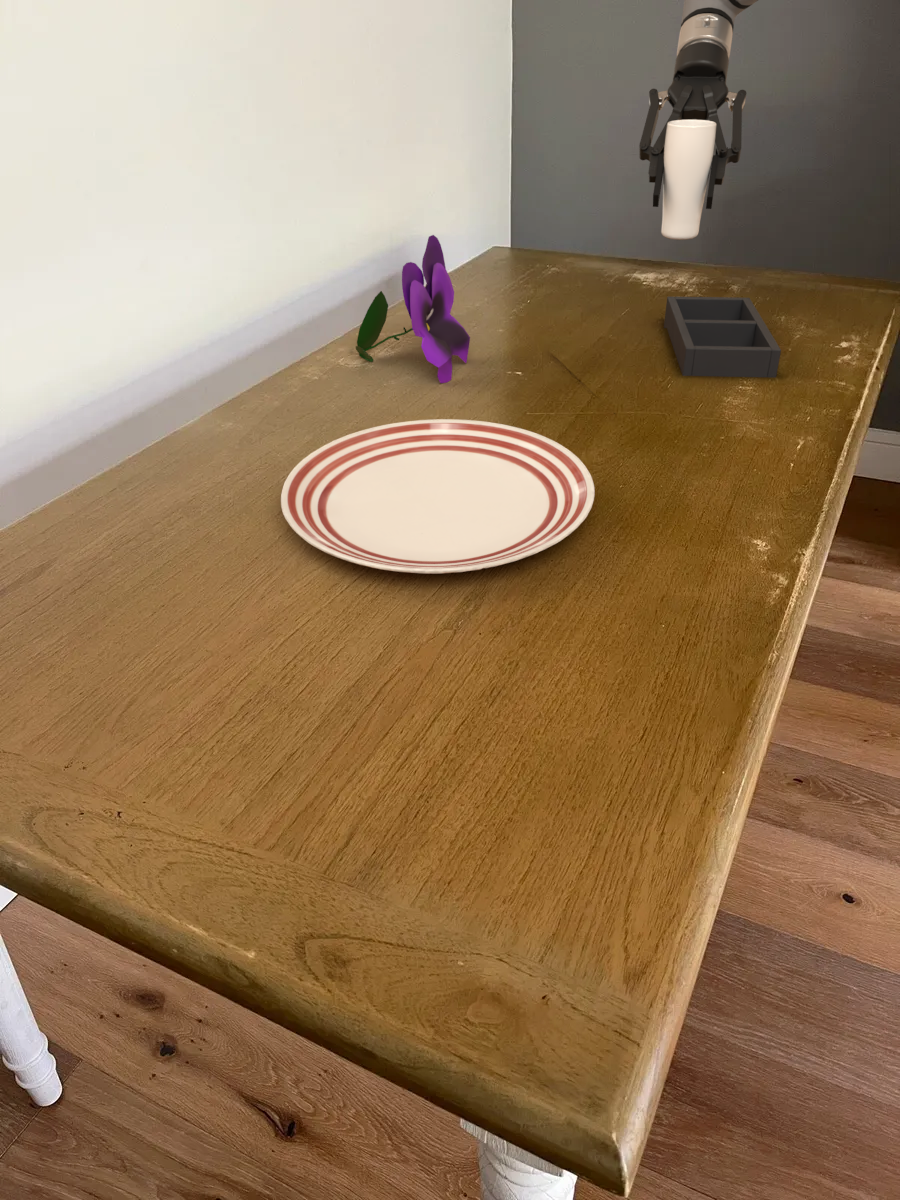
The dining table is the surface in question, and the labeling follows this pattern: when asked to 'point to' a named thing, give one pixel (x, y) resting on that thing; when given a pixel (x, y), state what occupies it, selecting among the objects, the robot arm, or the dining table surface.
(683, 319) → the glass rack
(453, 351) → the flower
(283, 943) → the dining table surface
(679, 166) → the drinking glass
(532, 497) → the dinner plate
